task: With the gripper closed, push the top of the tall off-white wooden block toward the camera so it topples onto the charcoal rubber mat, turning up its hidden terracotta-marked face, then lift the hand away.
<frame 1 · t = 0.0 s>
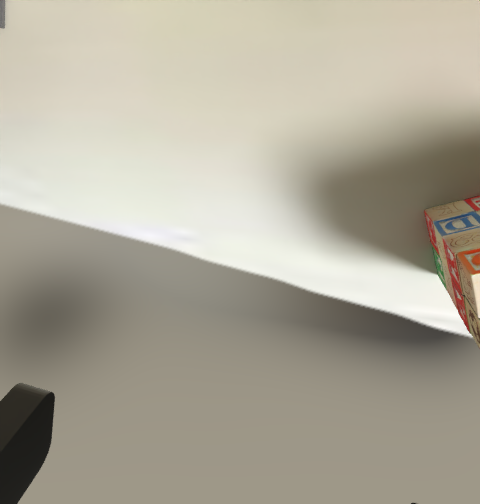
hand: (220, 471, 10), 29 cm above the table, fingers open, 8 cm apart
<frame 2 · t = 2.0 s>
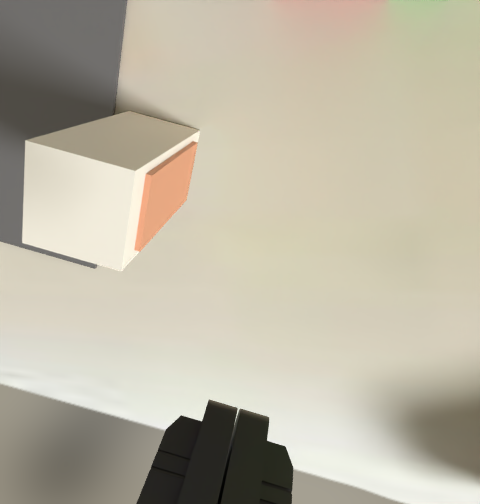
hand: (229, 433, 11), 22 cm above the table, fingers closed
mat: (29, 120, 32), on the table
tall block: (158, 156, 31), on the table
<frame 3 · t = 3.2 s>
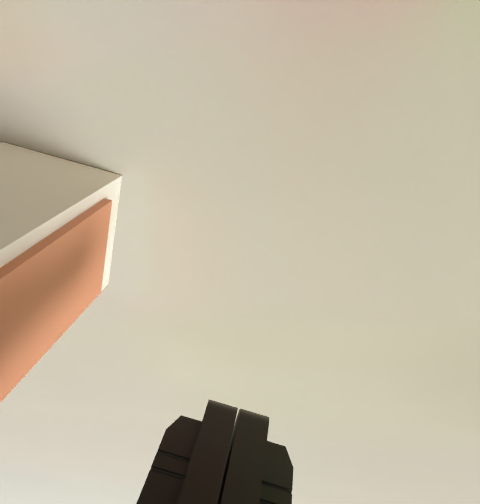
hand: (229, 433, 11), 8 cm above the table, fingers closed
tall block: (58, 216, 19), on the table
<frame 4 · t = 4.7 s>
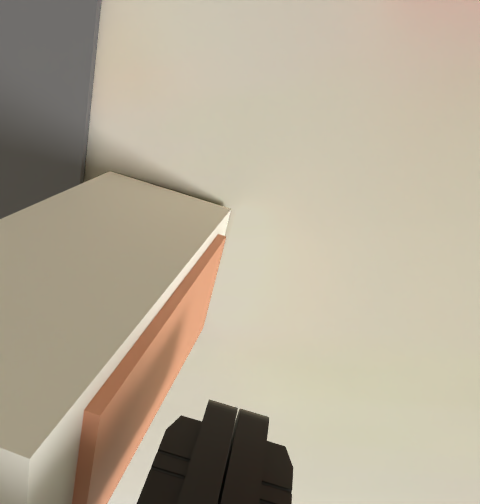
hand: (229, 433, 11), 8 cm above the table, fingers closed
tall block: (159, 247, 18), on the table
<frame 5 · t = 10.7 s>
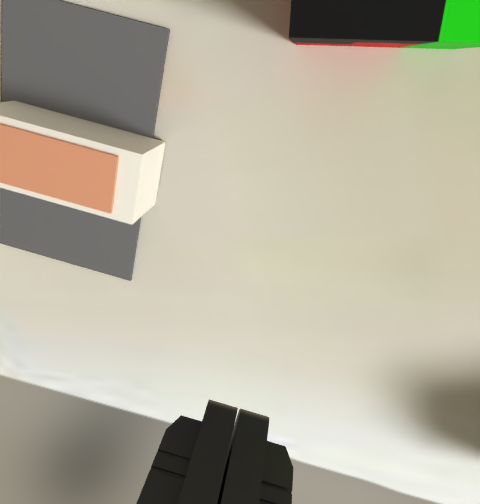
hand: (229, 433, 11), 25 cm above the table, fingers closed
mat: (75, 148, 35), on the table
tall block: (149, 181, 32), point 3 cm above the table, tilted 90°, touching mat
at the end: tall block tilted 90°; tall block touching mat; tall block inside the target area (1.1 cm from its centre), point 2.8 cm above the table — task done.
